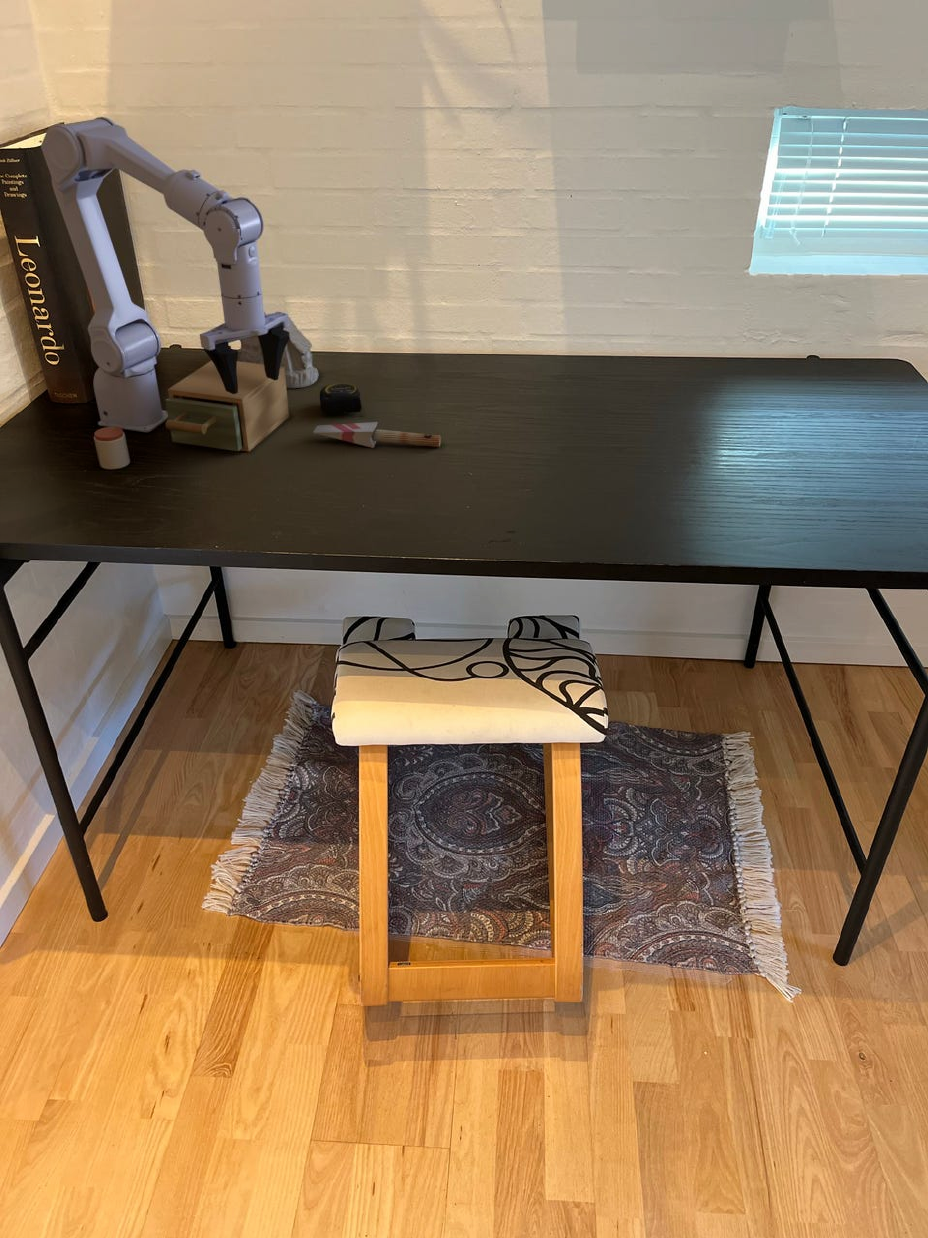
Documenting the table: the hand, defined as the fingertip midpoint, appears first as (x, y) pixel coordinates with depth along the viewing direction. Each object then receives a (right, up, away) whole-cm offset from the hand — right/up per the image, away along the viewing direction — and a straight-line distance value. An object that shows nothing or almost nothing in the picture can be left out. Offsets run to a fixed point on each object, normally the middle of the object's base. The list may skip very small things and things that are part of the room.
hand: (252, 385), depth 142 cm
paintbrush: (+18, -7, +8) cm, 21 cm away
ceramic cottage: (-2, +10, +33) cm, 35 cm away
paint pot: (-21, -12, +1) cm, 24 cm away
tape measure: (+11, 0, +18) cm, 21 cm away
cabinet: (-5, -4, +12) cm, 14 cm away
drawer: (-7, -6, +7) cm, 12 cm away
